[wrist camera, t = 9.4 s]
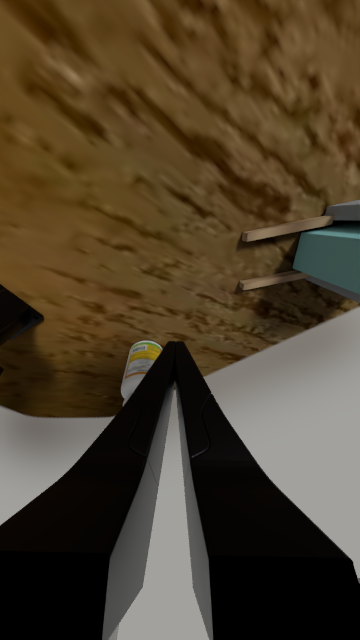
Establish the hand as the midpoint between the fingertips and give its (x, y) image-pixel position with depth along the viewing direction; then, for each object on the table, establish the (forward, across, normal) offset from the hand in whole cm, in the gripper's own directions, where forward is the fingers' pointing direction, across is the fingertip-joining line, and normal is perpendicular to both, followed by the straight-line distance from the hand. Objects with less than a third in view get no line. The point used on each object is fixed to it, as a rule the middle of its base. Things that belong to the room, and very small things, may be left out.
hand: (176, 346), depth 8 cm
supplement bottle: (+12, +5, +13) cm, 18 cm away
